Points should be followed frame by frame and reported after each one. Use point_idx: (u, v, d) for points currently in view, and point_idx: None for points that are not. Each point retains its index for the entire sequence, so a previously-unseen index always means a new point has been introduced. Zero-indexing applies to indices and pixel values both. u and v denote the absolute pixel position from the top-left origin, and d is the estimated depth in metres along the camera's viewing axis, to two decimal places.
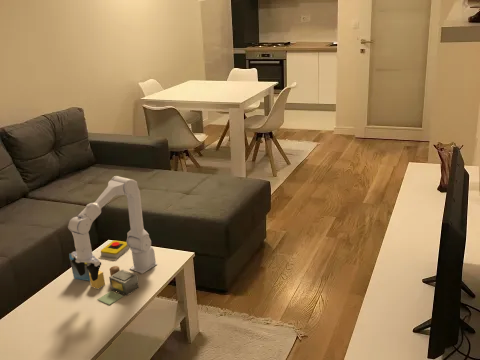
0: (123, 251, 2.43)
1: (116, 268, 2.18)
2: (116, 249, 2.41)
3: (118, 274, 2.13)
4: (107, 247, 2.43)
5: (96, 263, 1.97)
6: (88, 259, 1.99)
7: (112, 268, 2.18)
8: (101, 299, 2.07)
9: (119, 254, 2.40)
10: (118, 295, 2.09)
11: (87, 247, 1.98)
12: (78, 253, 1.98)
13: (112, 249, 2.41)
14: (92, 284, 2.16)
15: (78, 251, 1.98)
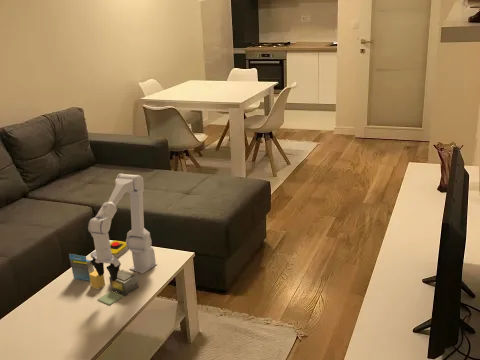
0: (123, 252, 2.43)
1: None
2: (116, 249, 2.41)
3: (118, 274, 2.13)
4: None
5: (116, 263, 1.97)
6: (108, 259, 2.00)
7: None
8: (101, 299, 2.07)
9: (119, 254, 2.40)
10: (118, 295, 2.09)
11: (108, 247, 1.99)
12: (98, 253, 1.98)
13: (112, 249, 2.41)
14: (92, 284, 2.16)
15: (98, 251, 1.98)
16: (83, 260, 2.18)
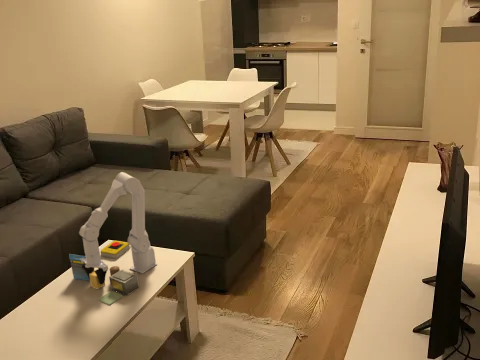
0: (123, 252, 2.43)
1: (116, 268, 2.18)
2: (116, 249, 2.41)
3: (118, 274, 2.13)
4: (107, 247, 2.43)
5: (104, 268, 2.09)
6: (97, 264, 2.11)
7: (112, 268, 2.18)
8: (101, 299, 2.07)
9: (119, 255, 2.40)
10: (118, 295, 2.09)
11: (94, 254, 2.10)
12: (87, 258, 2.10)
13: (112, 249, 2.41)
14: (92, 284, 2.16)
15: (88, 257, 2.10)
16: None
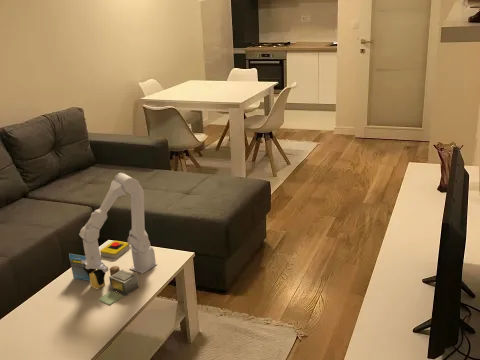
0: (123, 252, 2.42)
1: (116, 268, 2.18)
2: (115, 249, 2.41)
3: (118, 274, 2.13)
4: (107, 247, 2.43)
5: (105, 269, 2.10)
6: (97, 266, 2.12)
7: (112, 268, 2.18)
8: (101, 299, 2.07)
9: (118, 255, 2.40)
10: (118, 295, 2.09)
11: (94, 255, 2.10)
12: (88, 260, 2.10)
13: (112, 249, 2.41)
14: (92, 284, 2.16)
15: (88, 258, 2.10)
16: None
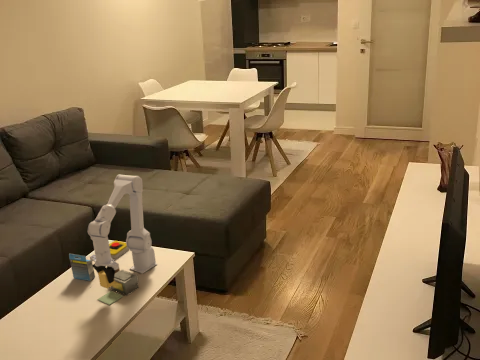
0: (122, 252, 2.42)
1: None
2: (115, 250, 2.41)
3: (118, 274, 2.13)
4: None
5: (115, 267, 1.98)
6: (107, 262, 2.00)
7: None
8: (101, 299, 2.07)
9: (118, 255, 2.39)
10: (118, 295, 2.09)
11: (108, 250, 1.99)
12: (97, 257, 1.98)
13: (111, 249, 2.41)
14: (101, 283, 2.04)
15: (97, 255, 1.98)
16: (83, 260, 2.18)
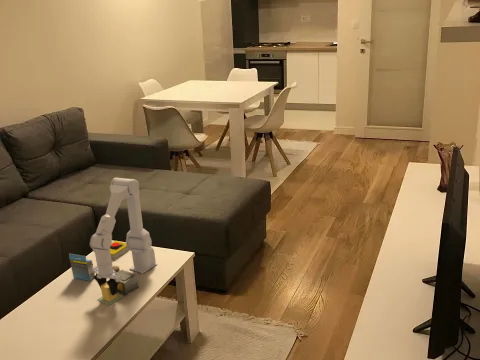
0: (122, 253, 2.42)
1: (116, 268, 2.18)
2: (115, 250, 2.40)
3: (118, 274, 2.13)
4: None
5: (117, 279, 1.99)
6: (109, 275, 2.01)
7: None
8: (101, 299, 2.07)
9: (118, 255, 2.39)
10: (118, 295, 2.09)
11: (110, 262, 2.01)
12: (99, 269, 2.00)
13: (111, 250, 2.41)
14: (104, 296, 2.06)
15: (99, 267, 2.00)
16: (83, 260, 2.18)
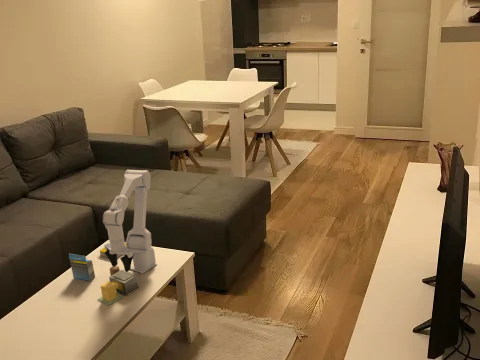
0: None
1: (116, 268, 2.18)
2: None
3: (118, 274, 2.13)
4: None
5: (129, 254, 2.03)
6: (121, 251, 2.05)
7: (112, 268, 2.18)
8: (101, 299, 2.07)
9: (117, 255, 2.39)
10: (118, 295, 2.09)
11: (122, 238, 2.04)
12: (112, 245, 2.04)
13: None
14: (104, 296, 2.06)
15: (112, 243, 2.03)
16: (83, 260, 2.18)
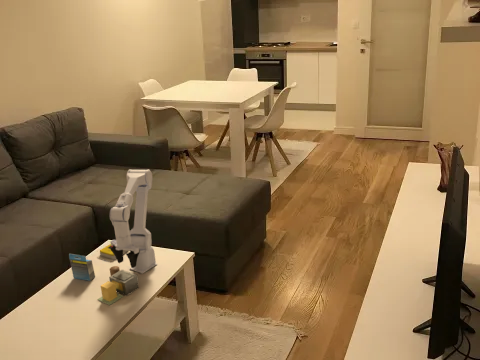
0: None
1: (116, 268, 2.18)
2: None
3: (118, 274, 2.13)
4: (107, 247, 2.43)
5: (136, 250, 2.05)
6: (128, 247, 2.07)
7: (112, 268, 2.18)
8: (101, 299, 2.07)
9: None
10: (118, 295, 2.09)
11: (129, 234, 2.07)
12: (118, 241, 2.06)
13: None
14: (104, 296, 2.06)
15: (118, 239, 2.06)
16: (83, 260, 2.18)
